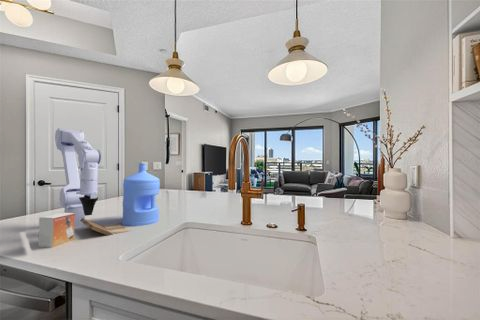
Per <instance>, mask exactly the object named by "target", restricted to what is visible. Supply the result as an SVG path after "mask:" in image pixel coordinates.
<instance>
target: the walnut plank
mask: <svg viewBox="0 0 480 320" xmlns="http://www.w3.org/2000/svg"><path fill="white" fill-rule="evenodd" d="M80 221H81V222H83V223H84V225H85V226H87V228H89V229H90V230H93V231H95V232H98V233H100V234H103V235H105V236H113V235H114V233H113V232H111V231H110V230H108V229H106V228H105V227H103V226H102V225H101V224H99V223H96V222H93V221H91V220H88V219H86V218H85V219H84V218H82V219H81V220H80Z"/></svg>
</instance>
